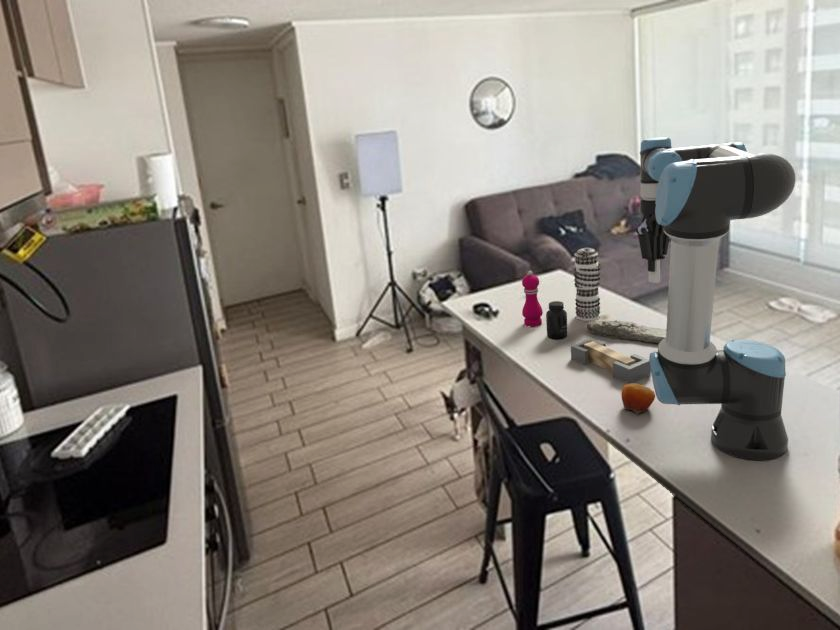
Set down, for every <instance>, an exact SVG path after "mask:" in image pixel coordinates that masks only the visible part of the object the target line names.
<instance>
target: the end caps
mask: <svg viewBox="0 0 840 630" xmlns="http://www.w3.org/2000/svg"><path fill="white" fill-rule="evenodd" d="M592 341H593V342H596V343H598V344H600V345H602V346H605V347H607V345H606V343H605V342H603V341H600V340H597V339H594V338H592V337H591V338H587V339H585V340H582V341H580V342H577V343H574V344H573V345H572V344H571V345H570V360H572V361H575V362H576V363H578V364H581V365H584V366H586V365H589V363H590V361H589V350H587V349H585V348H584V344H586V343H589V342H592ZM630 358H632V359H634V360H636V363H635V364H633V365H630V366H628V365H625V364H623V363H620V362H618V361H616V362H613V372H612V378H615V379H617V380H619V381H622V382H624V383H626V384H627V385H628V384H631V383H635V382H637V381H640V380H642V379H644V378H647V377H649V376H652V374H651V368H650V360H649V358H646V357H644V356H641V355H639V354H634V353H633V354H630Z"/></svg>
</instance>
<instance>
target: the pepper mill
mask: <svg viewBox="0 0 840 630" xmlns="http://www.w3.org/2000/svg"><path fill="white" fill-rule="evenodd" d="M521 285H522V287H524V288H523V293H524V294H525V302H524V305H523V307H522V312H521V314H522V317H523V318H524V320H523V323H524V324H523V325H524V326H525V325H526V327H528V326H530V327H529V328H537V327H540V326H541V325H543V321H542V318H541V317H542V316H543V314H544V312H543V311H544V310H543V308H542V306H541V303H540V302H539V299H538V292H539V287H538V286H539V285H540V279H539V277H538V276H537V275H535V274H534V273H533V270H528V272H527V274H526V275H525V276H523V278H522V281H521ZM536 326H537V327H536Z"/></svg>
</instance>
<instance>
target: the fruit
mask: <svg viewBox="0 0 840 630" xmlns="http://www.w3.org/2000/svg"><path fill="white" fill-rule="evenodd" d="M655 398H656V393H655V390H652V389H651V388H650V387H648V386H646V385H642V384H641V383H639V384H638V383H635V382H633V383H631V384H628V383H627V384H625V385H623V387H622V390H621V401H622V406H623V407H624V411H626V410H629V411H630V410H631V411H633V412H635V413H636V415H637V417H639V413H641V412H646V411H647V410H648V409H649V408H650V407H651V405H652V404H653V402H654V401H655V400H656V399H655Z"/></svg>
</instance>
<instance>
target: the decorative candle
mask: <svg viewBox="0 0 840 630" xmlns="http://www.w3.org/2000/svg"><path fill="white" fill-rule="evenodd" d="M573 255H574V256H575V262H574V268H573V277H574V279H573V280H574V281H573V282H574V287H575V289H576V293H575V300H574V301H575V306H576V307H575V308H574V309H575V314H576V315H575V317H576V319H577V320H579V321H584V322H585V321H586V322H590V321H594V320H596V319H597V320H598V318H599V319H600V317H601V311H600V310H601V306H600V304H601V302H600V301H601V298H600V292H599V287H600V286H601V283H600V282H599V281H600V280H601V277H600V275H601V272H599V271H601V267H600V266H601V263H599V257H598V255H599V252H598V251H596V249H594V248H592V247H582V248H579V249H578V250H576V252H575V253H574V254H573ZM597 320H596V321H597Z"/></svg>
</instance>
